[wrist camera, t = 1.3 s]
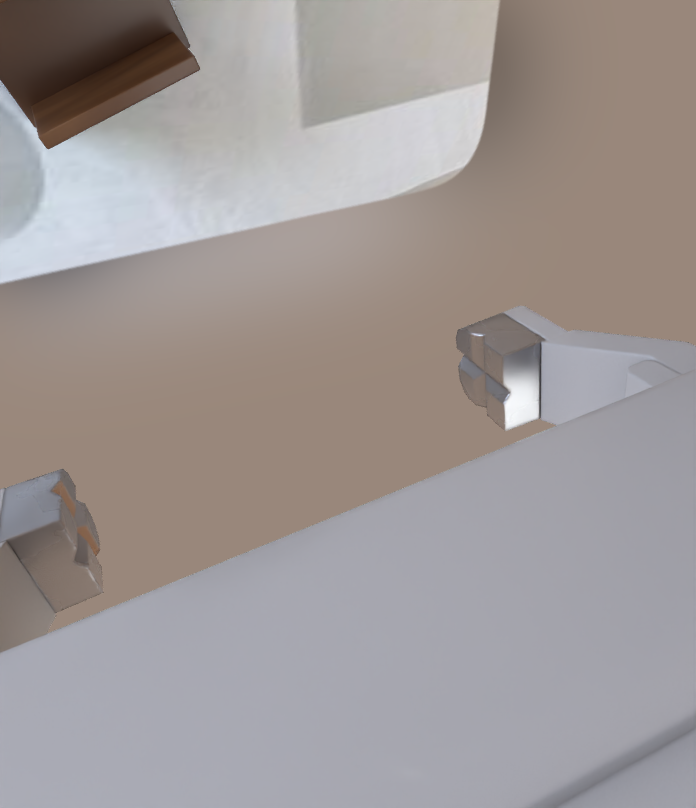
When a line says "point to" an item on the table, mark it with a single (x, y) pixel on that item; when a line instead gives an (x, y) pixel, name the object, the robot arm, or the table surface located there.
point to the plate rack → (88, 59)
